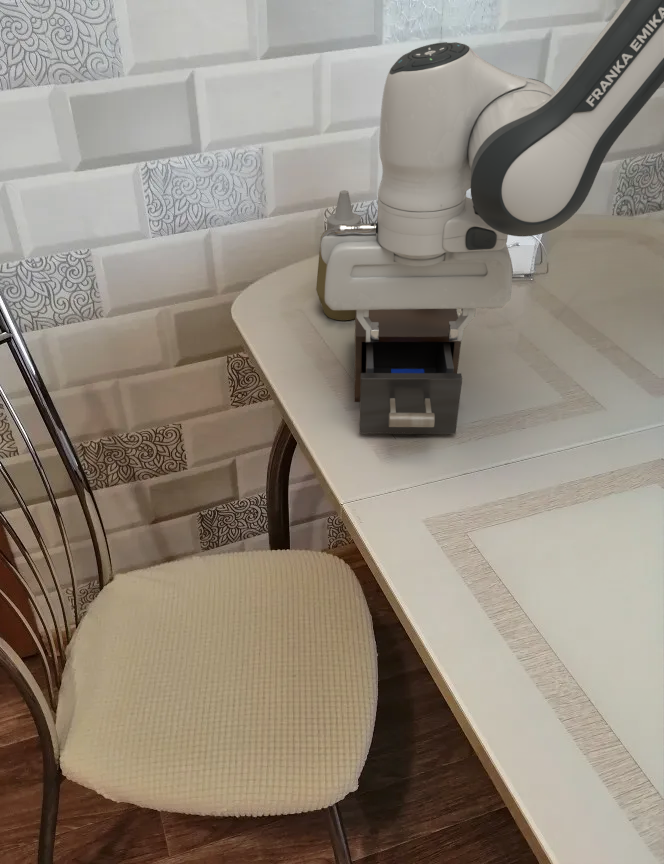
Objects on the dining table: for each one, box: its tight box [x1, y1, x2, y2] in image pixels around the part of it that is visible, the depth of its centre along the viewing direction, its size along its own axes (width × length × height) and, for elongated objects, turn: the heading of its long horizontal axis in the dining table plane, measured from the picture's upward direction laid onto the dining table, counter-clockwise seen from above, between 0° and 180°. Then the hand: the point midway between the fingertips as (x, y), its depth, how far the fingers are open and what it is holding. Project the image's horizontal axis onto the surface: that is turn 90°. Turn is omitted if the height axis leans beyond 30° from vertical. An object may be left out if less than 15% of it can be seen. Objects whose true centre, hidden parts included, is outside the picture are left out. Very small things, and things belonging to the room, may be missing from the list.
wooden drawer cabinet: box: [353, 309, 462, 403], centre depth 104 cm, size 15×13×10 cm
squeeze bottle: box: [315, 190, 362, 321], centre depth 113 cm, size 8×8×18 cm
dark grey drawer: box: [358, 342, 463, 435], centre depth 96 cm, size 18×11×8 cm, turn 177°
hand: (413, 339), depth 92 cm, fingers open, 8 cm apart
